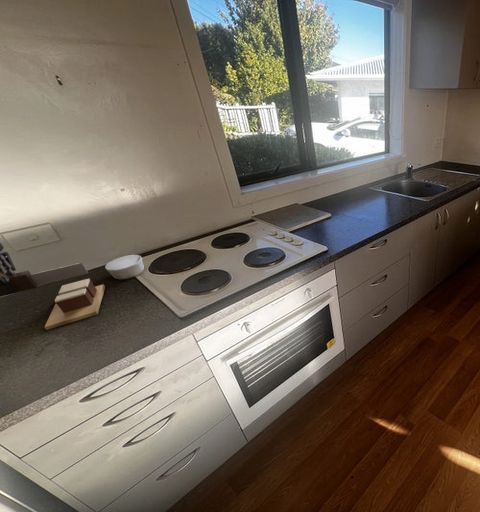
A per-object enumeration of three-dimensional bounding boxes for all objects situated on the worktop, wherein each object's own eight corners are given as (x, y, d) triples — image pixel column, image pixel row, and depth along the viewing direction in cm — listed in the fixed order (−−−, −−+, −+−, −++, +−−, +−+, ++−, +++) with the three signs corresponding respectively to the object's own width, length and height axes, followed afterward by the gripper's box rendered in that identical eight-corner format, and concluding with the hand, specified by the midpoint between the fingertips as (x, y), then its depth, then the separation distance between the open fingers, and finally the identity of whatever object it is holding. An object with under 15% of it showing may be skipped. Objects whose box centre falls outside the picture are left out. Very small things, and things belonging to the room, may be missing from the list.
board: (46, 329, 88) (44, 327, 87) (61, 299, 101) (59, 296, 100) (97, 314, 93) (95, 311, 93) (105, 286, 106) (103, 284, 106)
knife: (-7, 298, 84) (-20, 285, 81) (-4, 294, 86) (-16, 280, 83) (87, 274, 94) (78, 261, 91) (89, 271, 96) (80, 258, 93)
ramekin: (141, 277, 111) (135, 266, 108) (106, 284, 108) (99, 272, 105) (150, 263, 120) (145, 252, 117) (118, 268, 117) (112, 257, 114)
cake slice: (63, 313, 92) (54, 301, 90) (66, 307, 95) (56, 295, 92) (92, 304, 96) (83, 293, 93) (93, 299, 98) (85, 288, 95)
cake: (67, 305, 96) (58, 293, 93) (70, 297, 100) (62, 285, 97) (94, 297, 99) (86, 285, 96) (96, 289, 103) (89, 278, 100)
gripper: (-37, 233, 81) (6, 282, 90) (-65, 253, 71) (-13, 307, 80) (2, 226, 84) (39, 274, 93) (-20, 244, 74) (25, 297, 83)
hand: (15, 289), depth 87 cm, fingers closed on knife, 2 cm apart
